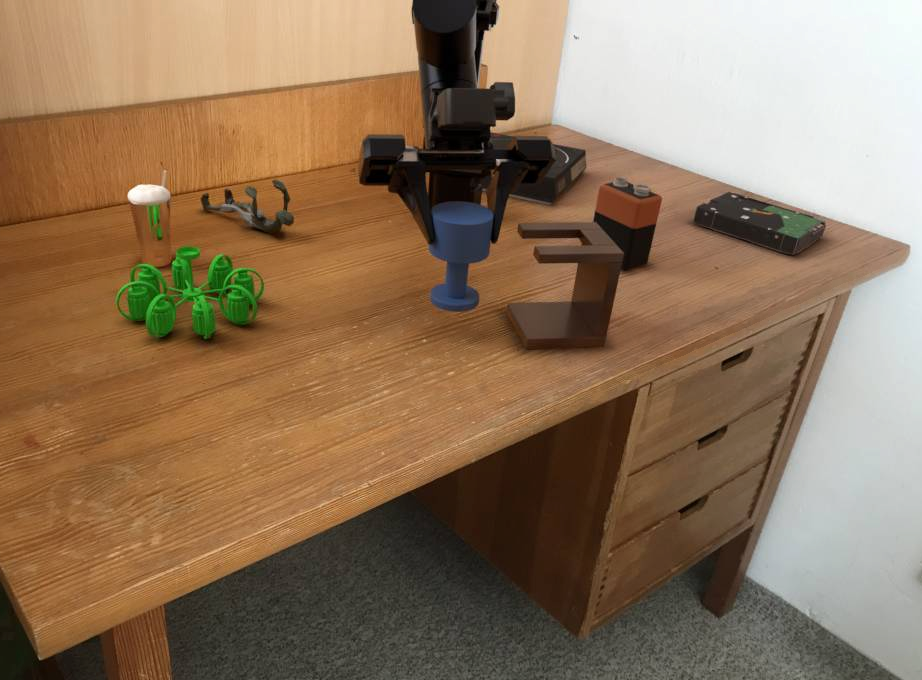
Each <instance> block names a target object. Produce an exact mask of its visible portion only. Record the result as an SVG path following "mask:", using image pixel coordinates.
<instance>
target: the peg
mask: <svg viewBox="0 0 922 680" xmlns="http://www.w3.org/2000/svg"><path fill="white" fill-rule="evenodd" d="M431 215H432V221H433V230H434V242H433V244H432V245H429V244H428V252H429V253H430V255H432V257H434V258H435V259H438V260H440V261H443V262H446V267H445V281H444V283H440V284H438V285H435V286H434V287H432V289H431V290H430V293H429V294H430V296H429V300H430V303H431V304H432V306H434V307H436V308H437V309H440V310H443V311H446V312H453V313H465V312H469V311H472V310H474V309H476V308H477V307H478V306H479V303H480V293H479V291H478V290H477V289H475V287H472V286H470V285H468V277H469V269H470V268H469V267H470V264H475V263H480V262H482V261H484V260H486V259H487V258H488V257H489V255H490V250H491V244H492V243H491V235H492V226H493V217H494V215H493V212H492V211H491V210H490V209H488V206H487V207H486V206H485V205H483V204H481V205H479V204H476V203H471V202H463V201H451V202H444V203H440V204H437V205H435V206H434V207H433V208H432V210H431Z"/></svg>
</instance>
